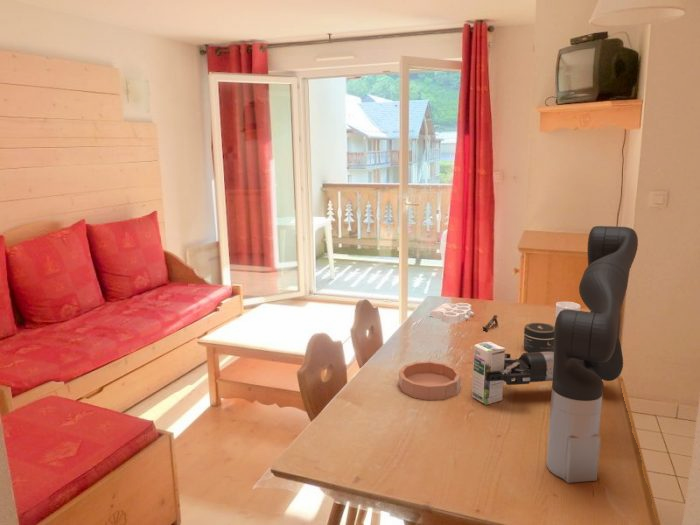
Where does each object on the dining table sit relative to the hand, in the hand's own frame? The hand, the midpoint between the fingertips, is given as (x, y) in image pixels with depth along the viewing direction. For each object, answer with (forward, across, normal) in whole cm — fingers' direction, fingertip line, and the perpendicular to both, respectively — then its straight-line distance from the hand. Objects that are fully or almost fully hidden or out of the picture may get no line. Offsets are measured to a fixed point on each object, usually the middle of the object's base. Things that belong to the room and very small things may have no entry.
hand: (480, 370), depth 139 cm
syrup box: (-2, 0, +8) cm, 8 cm away
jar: (-30, -30, +8) cm, 43 cm away
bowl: (+11, -9, +8) cm, 16 cm away
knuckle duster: (-13, -68, +9) cm, 69 cm away
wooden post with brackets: (-22, -52, +8) cm, 57 cm away
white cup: (-46, -44, +8) cm, 64 cm away
